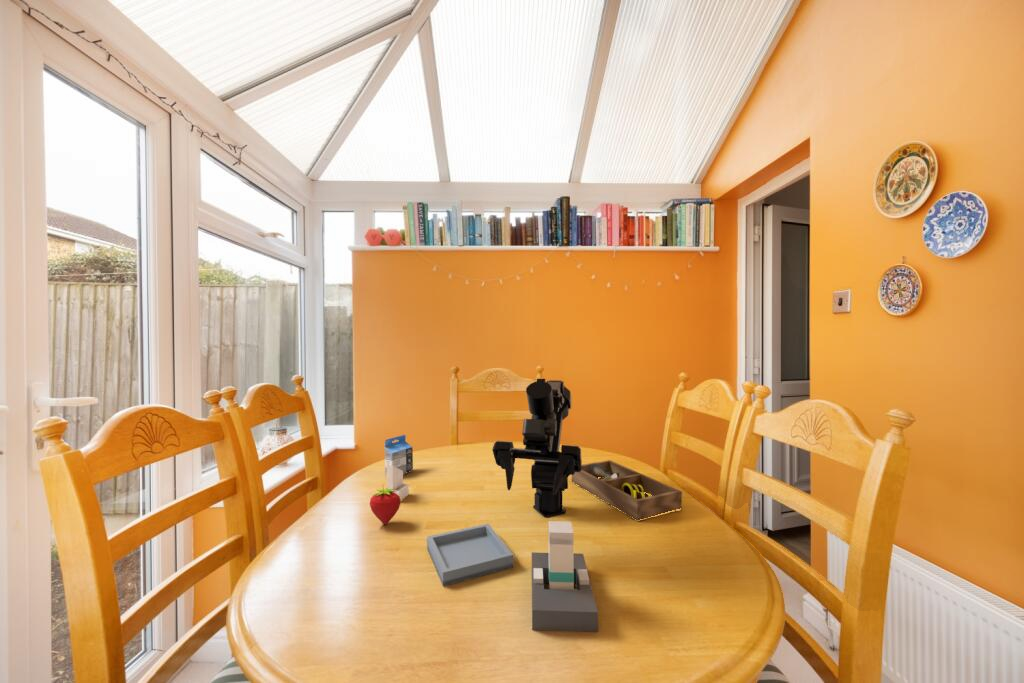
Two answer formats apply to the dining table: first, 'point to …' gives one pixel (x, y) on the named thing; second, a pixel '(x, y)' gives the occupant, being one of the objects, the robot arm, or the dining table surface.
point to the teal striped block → (560, 555)
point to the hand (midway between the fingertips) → (530, 491)
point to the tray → (468, 554)
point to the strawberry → (385, 504)
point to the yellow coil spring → (634, 491)
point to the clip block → (562, 599)
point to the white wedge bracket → (397, 481)
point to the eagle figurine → (603, 472)
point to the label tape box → (398, 454)
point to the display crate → (612, 493)
